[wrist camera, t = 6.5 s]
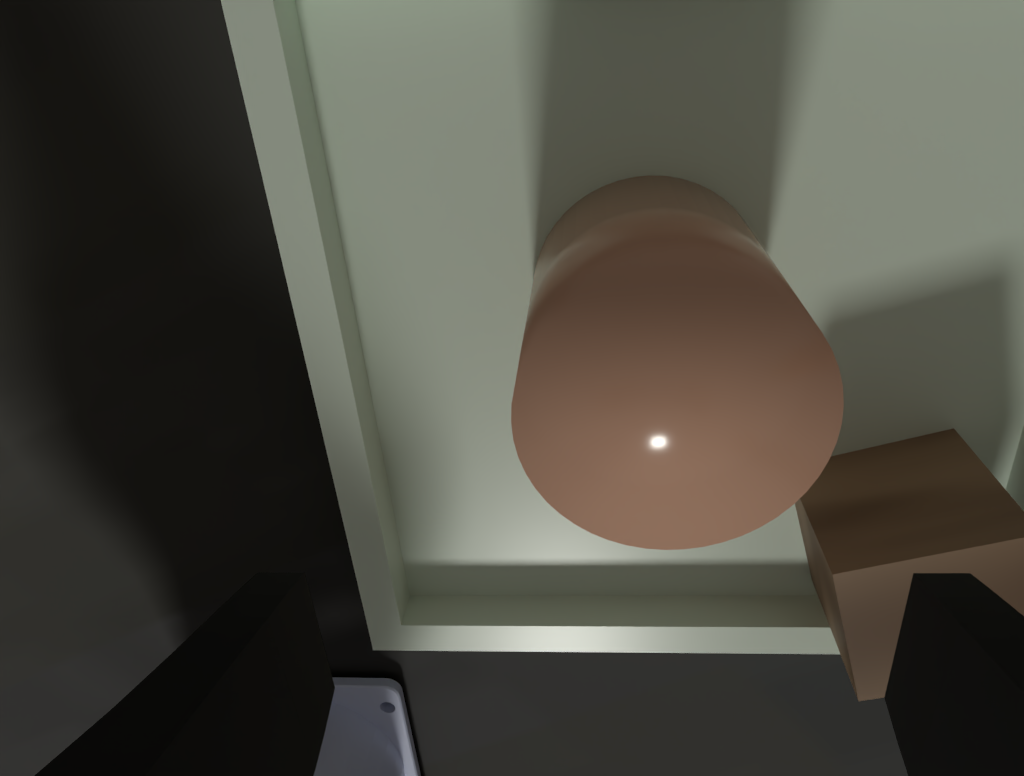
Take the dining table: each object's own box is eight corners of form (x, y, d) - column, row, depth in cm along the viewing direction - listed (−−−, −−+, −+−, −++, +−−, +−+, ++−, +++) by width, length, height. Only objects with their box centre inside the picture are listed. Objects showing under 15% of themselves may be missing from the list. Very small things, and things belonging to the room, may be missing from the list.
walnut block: (966, 551, 20) (1048, 671, 16) (811, 580, 21) (858, 701, 17) (953, 428, 18) (1042, 534, 15) (786, 466, 19) (832, 574, 16)
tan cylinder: (764, 375, 18) (839, 537, 13) (551, 400, 19) (537, 561, 13) (759, 156, 16) (849, 242, 10) (515, 195, 16) (483, 293, 11)
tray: (995, 606, 21) (1028, 655, 20) (387, 605, 23) (372, 650, 22) (1226, -158, 13) (1315, -179, 11) (245, -57, 15) (206, -63, 13)
